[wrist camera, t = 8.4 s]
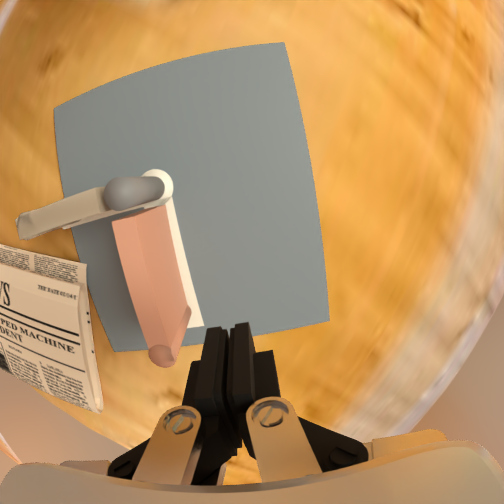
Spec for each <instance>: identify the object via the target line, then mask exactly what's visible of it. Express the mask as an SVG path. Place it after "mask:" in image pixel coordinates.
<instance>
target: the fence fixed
mask: <svg viewBox="0 0 504 504" xmlns="http://www.w3.org/2000/svg"><path fill="white" fill-rule="evenodd" d="M105 187H106V186H105ZM105 187H96V188H93V189H90V190H87V191H84V192H81V193H78V194H76V195H73V196H70V197H67V198H65V199H62V200H60V201H57V202H54V203H52V204H49V205H47V206H44V207H42V208H40V209H36V210H32V211H28V212H24V213H21V214H20V215H19V217H18V218H17V219H15V221H16V226H17V230H18V234H19V238H20V240H21V239H24V240H29V239H32V238H34V237H37V236H40V235H42V234H45V233H48V232H50V231H53V230H56V229H59V228H62V227H64V226H67V225H70V224H73V223H76V222H79V221H80V220H81V219H83V218H86V217H89V216H93V215H96V214H99V213H103V212H106V211H109V210H112V209H111V208H109V207H108V206H107V204H106V202H105V200H104V189H105Z"/></svg>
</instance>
